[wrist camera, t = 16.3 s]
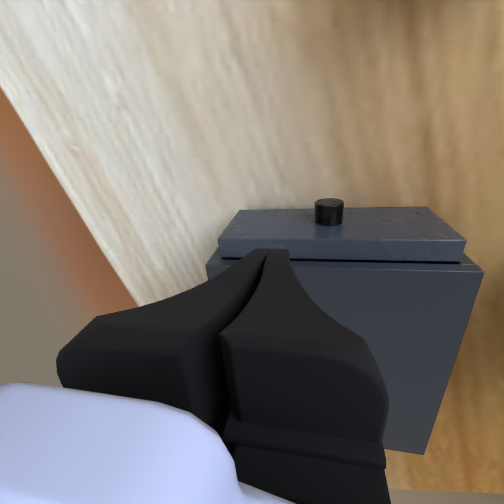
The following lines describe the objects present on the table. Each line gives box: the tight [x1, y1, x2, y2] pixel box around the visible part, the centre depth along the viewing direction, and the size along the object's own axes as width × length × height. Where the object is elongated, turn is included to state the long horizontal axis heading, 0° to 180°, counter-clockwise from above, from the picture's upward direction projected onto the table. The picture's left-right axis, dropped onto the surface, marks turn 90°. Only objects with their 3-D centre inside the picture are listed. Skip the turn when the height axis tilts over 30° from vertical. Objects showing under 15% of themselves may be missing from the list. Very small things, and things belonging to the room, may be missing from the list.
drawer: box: [218, 198, 466, 264], centre depth 19 cm, size 15×12×5 cm
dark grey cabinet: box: [206, 247, 484, 455], centre depth 20 cm, size 14×13×7 cm
